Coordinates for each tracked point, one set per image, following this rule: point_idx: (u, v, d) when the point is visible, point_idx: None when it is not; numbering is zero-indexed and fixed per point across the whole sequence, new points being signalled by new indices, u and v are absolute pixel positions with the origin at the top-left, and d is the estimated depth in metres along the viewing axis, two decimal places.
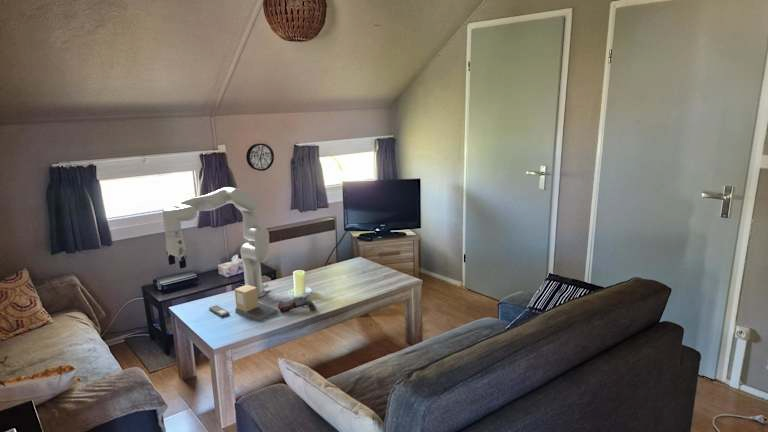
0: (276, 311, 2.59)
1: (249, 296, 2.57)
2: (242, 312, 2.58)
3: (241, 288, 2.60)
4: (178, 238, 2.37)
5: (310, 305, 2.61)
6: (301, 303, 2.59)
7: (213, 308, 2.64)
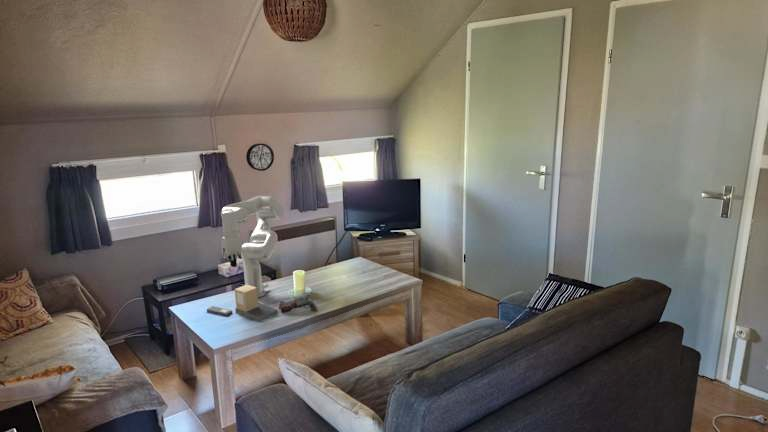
0: (276, 311, 2.59)
1: (249, 296, 2.57)
2: (242, 312, 2.58)
3: (241, 288, 2.60)
4: None
5: (311, 305, 2.61)
6: (302, 303, 2.59)
7: (212, 309, 2.63)
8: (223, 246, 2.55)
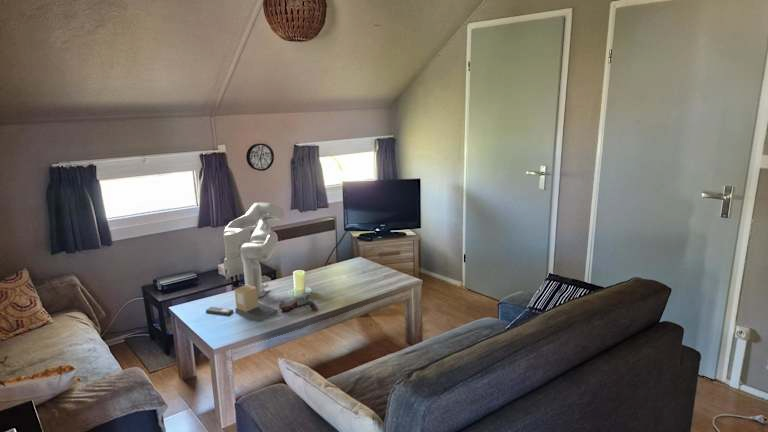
0: (276, 311, 2.59)
1: (249, 296, 2.57)
2: (242, 312, 2.58)
3: (241, 288, 2.60)
4: None
5: (312, 305, 2.61)
6: (303, 303, 2.59)
7: (211, 309, 2.63)
8: (225, 267, 2.58)
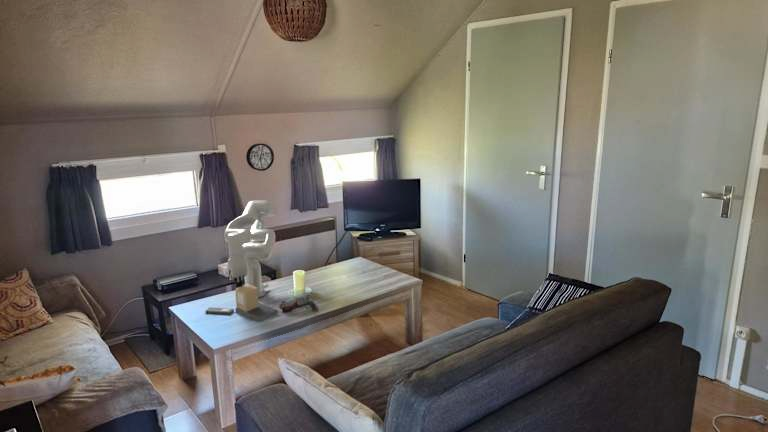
0: (276, 311, 2.59)
1: (250, 296, 2.57)
2: (242, 312, 2.58)
3: (241, 287, 2.60)
4: None
5: (312, 305, 2.61)
6: (303, 303, 2.59)
7: (211, 310, 2.62)
8: (229, 268, 2.56)
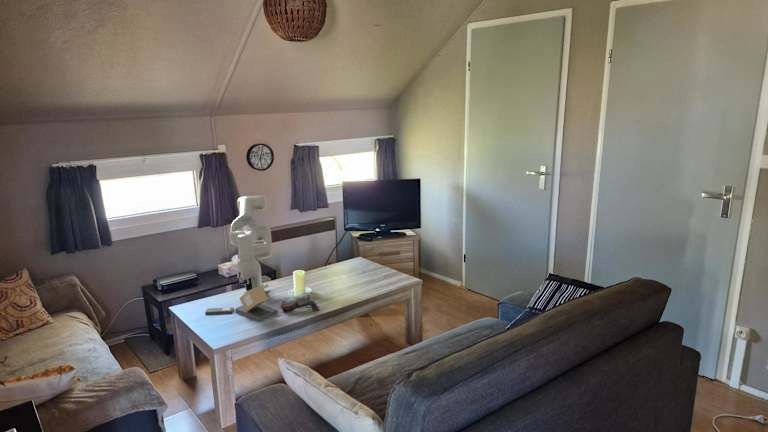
0: (276, 311, 2.59)
1: (257, 304, 2.54)
2: (242, 312, 2.58)
3: (254, 291, 2.53)
4: None
5: (313, 305, 2.61)
6: (304, 303, 2.59)
7: (211, 310, 2.61)
8: (239, 270, 2.51)
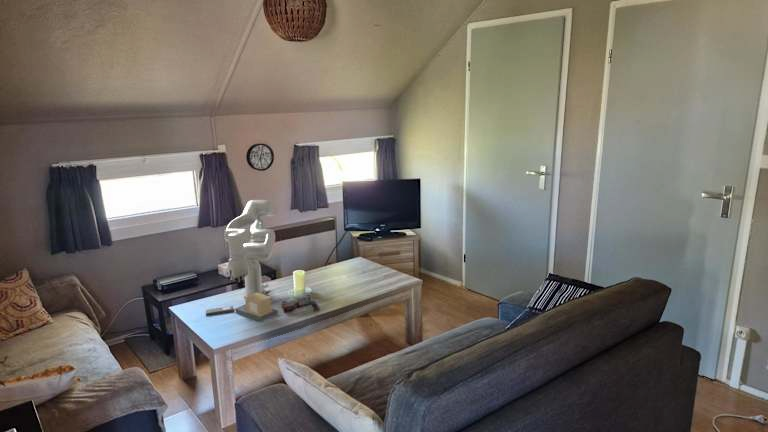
0: (276, 311, 2.59)
1: None
2: (242, 312, 2.58)
3: (263, 303, 2.51)
4: None
5: (314, 305, 2.61)
6: (305, 303, 2.60)
7: (211, 311, 2.60)
8: (230, 268, 2.56)
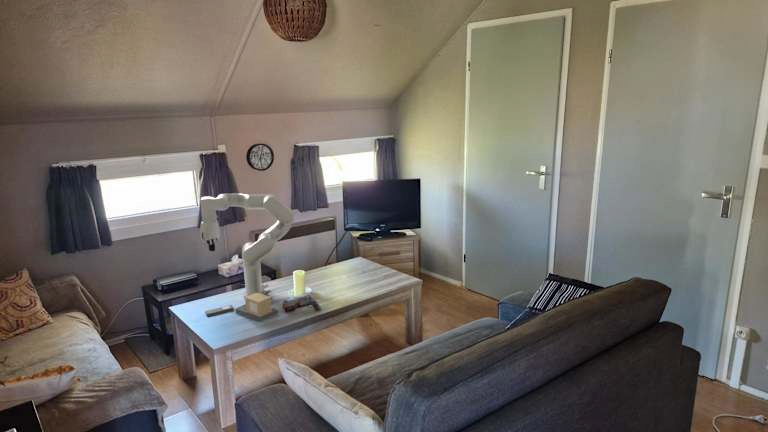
0: (276, 311, 2.59)
1: None
2: (242, 312, 2.58)
3: (263, 303, 2.51)
4: None
5: (314, 305, 2.61)
6: (305, 303, 2.60)
7: (212, 312, 2.60)
8: (202, 231, 2.67)
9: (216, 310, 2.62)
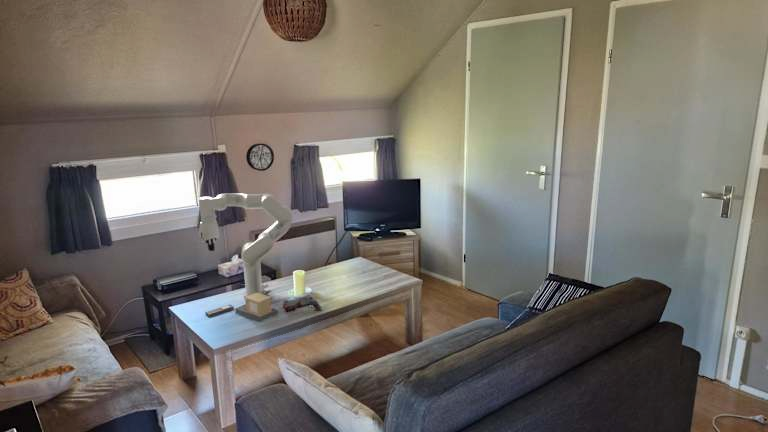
0: (276, 311, 2.59)
1: None
2: (242, 312, 2.58)
3: (263, 303, 2.51)
4: None
5: (315, 305, 2.61)
6: (306, 303, 2.60)
7: (213, 312, 2.59)
8: (201, 231, 2.68)
9: (216, 310, 2.61)
